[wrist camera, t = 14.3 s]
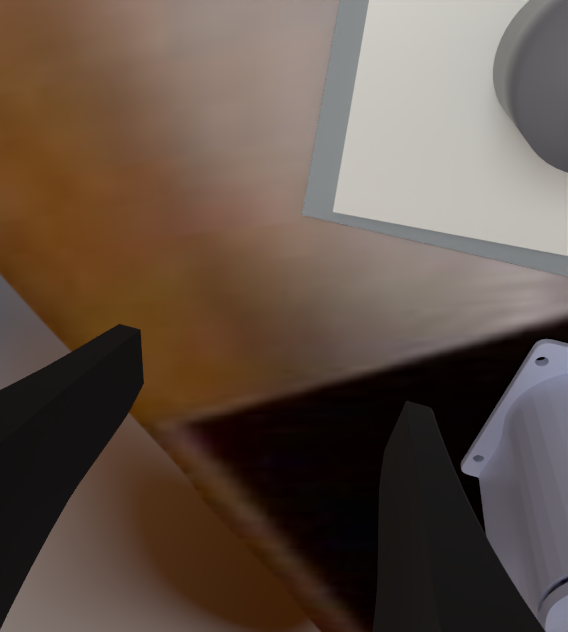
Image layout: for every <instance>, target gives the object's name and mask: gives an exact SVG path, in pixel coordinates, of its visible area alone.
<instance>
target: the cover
mask: <svg viewBox="0 0 568 632" xmlns="http://www.w3.org/2000/svg"><path fill="white" fill-rule="evenodd" d="M333 212H335V213H341V214H346V215H352V216H357V217H362V218H368V219H373V220H378V221H384V222H389V223H394V224H400V225H405V226H410V227H416V228H421V229H426V230H432V231H437V232H442V233H448V234H453V235H458V236H464V237H469V238H474V239H480V240H485V241H491V242H496V243H501V244H507V245H512V246H517V247H523V248H528V249H533V250H539V251H544V252H549V253H555V254H560V255H565V256H568V0H369V3H368V9H367V15H366V21H365V27H364V32H363V38H362V44H361V50H360V56H359V62H358V67H357V73H356V79H355V85H354V91H353V97H352V102H351V108H350V114H349V120H348V126H347V132H346V137H345V143H344V149H343V155H342V161H341V167H340V172H339V178H338V184H337V190H336V196H335V202H334V207H333Z"/></svg>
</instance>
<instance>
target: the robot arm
mask: <svg viewBox="0 0 568 632" xmlns="http://www.w3.org/2000/svg"><path fill="white" fill-rule="evenodd" d="M539 357H546V358H545V359H543V360H536V359H537V358H539ZM143 384H144V379H143V363H142V348H141V332H140V329H136V328H132V327H129V326H125V325H121V324H119V325H117V326H115V327H113V328H112V329H110V330H108V331H106V332H105V333H103V334H101V335H100V336H98V337H96V338H95V339H93V340H91V341H89V342H88V343H86V344H84V345H83V346H81V347H79V348H78V349H76V350H74V351H73V352H71V353H69V354H67V355H66V356H64V357H62V358H60V359H58V360H57V361H55V362H53V363H51V364H50V365H48V366H46V367H44V368H42V369H40V370H38V371H37V372H35V373H33V374H31V375H29V376H27V377H25V378H23V379H21V380H19V381H17V382H15V383H14V384H11V385H10V386H8V387H6V388H3V389H1V390H0V629H1V627H2V624H3V622H4V620H5V618H6V616H7V614H8V612H9V610H10V608H11V606H12V604H13V602H14V600H15V598H16V596H17V594H18V592H19V590H20V588H21V586H22V584H23V582H24V580H25V578H26V576H27V574H28V572H29V571H30V569H31V567H32V565H33V563H34V561H35V559H36V557H37V555H38V554H39V552H40V550H41V548H42V546H43V544H44V543H45V541H46V539H47V537H48V535H49V533H50V532H51V530H52V528H53V526H54V525H55V523H56V521H57V519H58V518H59V516H60V514H61V512H62V511H63V509H64V507H65V505H66V503H67V502H68V500H69V498H70V497H71V495H72V494H73V492H74V491H75V489H76V487H77V486H78V484H79V483H80V481H81V480H82V479H83V477H84V476H85V474H86V473H87V472H88V470H89V469H90V467H91V466H92V465H93V463H94V462H95V460H96V459H97V457H98V456H99V455H100V453H101V452H102V450H103V449H104V448H105V446H106V445H107V443H108V441H110V439H111V438H112V436H113V435H114V433H115V432H116V430H117V429H118V428H119V426H120V425H121V423H122V422H123V420H124V419H125V417H126V416H127V414H128V412H129V411H130V409H131V407H132V405H133V403H134V401H135V400H136V398H137V396H138V394H139V392H140V390H141V388H142V386H143ZM476 455H480V456H476ZM461 469H462V471H463V472H464V473H466V474H468V475H471V476H475V477H479V483H480V491H481V499H482V506H483V514H484V522H485V530H486V535H485V533H484V531H483V529H482V527H481V525H480V523H479V521H478V519H477V517H476V515H475V513H474V511H473V509H472V507H471V505H470V503H469V501H468V499H467V497H466V494H465V492H464V490H463V488H462V485H461V483H460V481H459V478H458V476H457V474H456V472H455V469H454V467H453V465H452V462H451V460H450V457H449V455H448V452H447V449H446V447H445V444H444V442H443V439H442V436H441V433H440V431H439V428H438V425H437V422H436V419H435V416H434V413H433V411H432V409H431V408H430V407H427V406H423V405H420V404H416V403H412V402H408V401H406V403H405V405H404V407H403V409H402V412H401V414H400V416H399V419H398V421H397V423H396V425H395V428H394V430H393V432H392V434H391V437H390V439H389V441H388V443H387V446H386V448H385V450H384V456H383V464H382V471H381V479H380V487H379V530H378V582H377V598H376V607H375V616H374V625H373V632H568V343H564V342H560V341H556V340H552V339H543V340H540V341H538V342H536V343H535V344H534V346H533V347H532V349H531V350H530V352H529V354H528V355H527V357H526V358H525V360H524V362H523V363H522V365H521V367H520V368H519V370H518V371H517V373H516V375H515V376H514V378H513V379H512V381H511V383H510V384H509V386H508V387H507V389H506V391H505V392H504V394H503V396H502V397H501V399H500V400H499V402H498V404H497V405H496V407H495V408H494V410H493V412H492V413H491V415H490V416H489V418H488V420H487V421H486V423H485V425H484V426H483V428H482V429H481V431H480V433H479V434H478V436H477V437H476V439H475V441H474V442H473V444H472V445H471V447H470V449H469V450H468V452H467V454H466V455H465V457H464V458H463V460H462V462H461Z"/></svg>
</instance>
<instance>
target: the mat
mask: <svg viewBox="0 0 568 632" xmlns="http://www.w3.org/2000/svg"><path fill="white" fill-rule="evenodd" d="M368 3H369V0H340V1H339V7H338V13H337V18H336V24H335V30H334V35H333V41H332V47H331V52H330V58H329V64H328V69H327V75H326V81H325V86H324V92H323V98H322V103H321V109H320V115H319V120H318V126H317V132H316V137H315V143H314V149H313V154H312V160H311V166H310V171H309V177H308V183H307V188H306V194H305V200H304V205H303V211H302V215H305V216H309V217H314V218H318V219H322V220H327V221H331V222H335V223H340V224H344V225H348V226H353V227H357V228H361V229H365V230H370V231H374V232H378V233H383V234H387V235H391V236H396V237H400V238H404V239H408V240H413V241H417V242H421V243H426V244H430V245H434V246H439V247H443V248H447V249H451V250H456V251H460V252H464V253H469V254H473V255H477V256H482V257H486V258H490V259H495V260H499V261H503V262H507V263H512V264H516V265H520V266H525V267H529V268H533V269H538V270H542V271H546V272H550V273H555V274H559V275H563V276H568V256H565V255H560V254H555V253H549V252H544V251H539V250H533V249H528V248H523V247H517V246H512V245H507V244H501V243H496V242H491V241H485V240H480V239H474V238H469V237H464V236H458V235H453V234H448V233H442V232H437V231H432V230H426V229H421V228H416V227H410V226H405V225H400V224H394V223H389V222H384V221H378V220H373V219H368V218H362V217H357V216H352V215H346V214H341V213H335V212H333V207H334V202H335V196H336V190H337V184H338V178H339V172H340V167H341V161H342V155H343V149H344V143H345V137H346V132H347V126H348V120H349V114H350V108H351V102H352V97H353V91H354V85H355V79H356V73H357V67H358V62H359V56H360V50H361V44H362V38H363V32H364V27H365V21H366V15H367V9H368Z"/></svg>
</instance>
